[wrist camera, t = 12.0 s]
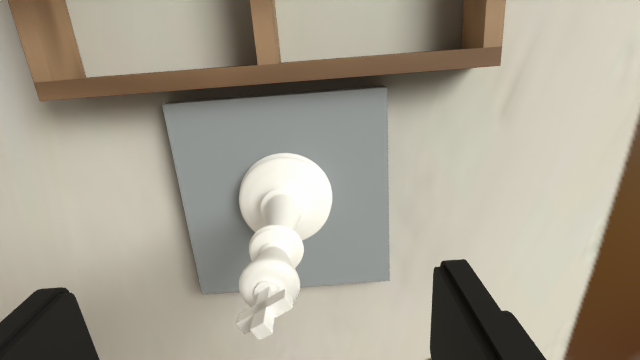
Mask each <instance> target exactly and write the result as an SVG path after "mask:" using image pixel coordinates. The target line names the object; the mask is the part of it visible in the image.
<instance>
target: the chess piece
mask: <svg viewBox="0 0 640 360" xmlns="http://www.w3.org/2000/svg"><path fill="white" fill-rule="evenodd" d="M239 206H240V210H241V213H242V216H243V218H244V220H245V221H246V223H247V224H248V226H249V227H250V228H251V229H252V230H253V231H254V232H255V234H254V235H253V236H252V238H251V240H250V243H249V254H250V258H251V260H252V262H251V263H249V264H248V265H247V266H246V268H245V269H244V270H243V272H242V274H241V276H240V279H239V291H240V294H241V296H242V298H243V300H244V301H245V302H246V303H247V304H248V305H249V306H250V307H251V308H249V309H247V310H245V311H243V312H241V313H240V314H239V315H238V318H237V322H236V325H237V326H238V327H239V328H240V329H241V330H242V332H243V333H244V334H246V333H248V332H249V331H252V333H253V334H254V335H255V336H256V337H257V339H258V340H261V339H263V338H265V337H267V336H269V335H271V334H272V332H273V325H274V318H276V317H277V316H279V315H281V314H283V313H285V312H287V311H289V310H291V309H292V308H293V303H294V302H295V300H296V299H297V297H298V295H299V292H300V279H299V276H298V273H297V271H296V269H295V268H296V267H297V266H298V264H299V263H300V261H301V260H302V257H303V254H304V246H303V242H302V240H305V239H307V238H309V237H311V236H312V235H314V234H315V233H316V232H318V231H319V230H320V229H321V228H322V226H323V225H324V224H325V222H326V220H327V218H328V216H329V213H330V210H331V206H332V189H331V185H330V182H329V180H328V178H327V176H326V174H325V173H324V172H323V170H322V169H321V168H320V167H319V166H318V165H317V164H316V163H314V162H313V161H311V160H310V159H308V158H306V157H303V156H301V155H297V154H292V153H278V154H273V155H269V156H267V157H264V158H262V159H261V160H259V161H257V162H256V163H255V164H254V165H252V166H251V168H250V169H249V170H248V171H247V173H246V174H245V176H244V178H243V180H242V183H241V186H240V193H239Z"/></svg>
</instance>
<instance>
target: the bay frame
mask: <svg viewBox="0 0 640 360" xmlns="http://www.w3.org/2000/svg"><path fill="white" fill-rule="evenodd" d="M8 3H9V6H10V9H11V12H12V15H13V18H14V21H15V25H16V28H17V31H18V34H19V37H20V40H21V43H22V47H23V50H24V53H25V56H26V59H27V62H28V66H29V69H30V72H31V75H32V78H33V81H34V84H35V88H36V91H37V94H38V97H39V100H40V101H47V100H60V99H73V98H86V97H99V96H112V95H125V94H138V93H151V92H164V91H177V90H190V89H203V88H216V87H229V86H242V85H256V84H269V83H282V82H295V81H308V80H321V79H334V78H347V77H360V76H373V75H386V74H399V73H412V72H425V71H438V70H451V69H464V68H477V67H490V66H500V63H501V51H502V39H503V27H504V15H505V4H506V0H464V1H463V22H462V42H461V49H452V50H439V51H426V52H414V53H401V54H388V55H375V56H362V57H349V58H336V59H323V60H310V61H297V62H284V63H281V59H280V49H279V39H278V30H277V20H276V10H275V0H250V6H251V14H252V23H253V31H254V39H255V47H256V55H257V63H258V65H245V66H232V67H219V68H206V69H193V70H180V71H167V72H154V73H141V74H129V75H116V76H103V77H90V78H86V76H85V72H84V69H83V65H82V61H81V58H80V54H79V50H78V47H77V43H76V39H75V36H74V32H73V28H72V25H71V21H70V17H69V13H68V10H67V6H66V2H65V0H8Z"/></svg>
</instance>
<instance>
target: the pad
mask: <svg viewBox="0 0 640 360" xmlns="http://www.w3.org/2000/svg"><path fill="white" fill-rule="evenodd" d="M162 107H163V112H164V117H165V122H166V126H167V131H168V136H169V140H170V145H171V150H172V155H173V159H174V164H175V169H176V174H177V178H178V183H179V188H180V192H181V197H182V202H183V207H184V211H185V216H186V221H187V226H188V230H189V235H190V240H191V245H192V249H193V254H194V259H195V263H196V268H197V273H198V278H199V282H200V287H201V292H202V294H215V293H229V292H240V291H239V279H240V276H241V274H242V272H243V270H244V269H245V268H246V266H247V265H248V264H249V263H251V262H252V260H251V258H250V254H249V243H250V240H251V238H252V236H253V235H254V234H255V232H254V231H253V230H252V229H251V228H250V227H249V226H248V224H247V223H246V221H245V220H244V218H243V216H242V213H241V210H240V206H239V193H240V186H241V183H242V180H243V178H244V176H245V174H246V173H247V171H248V170H249V169H250V168H251V166H252V165H254V164H255V163H256V162H257V161H259V160H261V159H262V158H264V157H267V156H269V155H273V154H278V153H292V154H297V155H301V156H303V157H306V158H308V159H310V160H311V161H313V162H314V163H316V164H317V165H318V166H319V167H320V168H321V169H322V170H323V172H324V173H325V174H326V176H327V178H328V180H329V182H330V185H331V189H332V206H331V210H330V213H329V216H328V218H327V220H326V222H325V224H324V225H323V226H322V228H321V229H320V230H319V231H318V232H316V233H315V234H314V235H312V236H311V237H309V238H307V239H305V240H302V242H303V246H304V254H303V257H302V260H301V261H300V263H299V264H298V266H297V267H296V268H295V269H296V271H297V273H298V276H299V279H300V287H311V286H325V285H338V284H352V283H366V282H379V281H390V271H389V192H388V114H387V87H385V86H374V87H361V88H348V89H335V90H322V91H309V92H296V93H283V94H270V95H257V96H244V97H231V98H217V99H204V100H191V101H178V102H169V103H165V104H162Z"/></svg>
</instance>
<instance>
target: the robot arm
mask: <svg viewBox="0 0 640 360" xmlns="http://www.w3.org/2000/svg"><path fill="white" fill-rule="evenodd" d="M430 353H431V358H432V360H546V359H545V357H544V356H543V355H542V353H541V352H540V350H539V349H538V348H537V346H536V345H535V344H534V342H533V341H532V339H531V338H530V337H529V335H528V334H527V333H526V331H525V330H524V328H523V327H522V326H521V324H520V323H519V322H518V320H517V319H516V318H515V316H514V315H513V314H512V313H510V312H509V311H501V310H500V308H499V307H498V305H497V304H496V302H495V301H494V299H493V298H492V297H491V295H490V294H489V292H488V291H487V289H486V288H485V286H484V285H483V284H482V282H481V281H480V279H479V278H478V276H477V275H476V273H475V272H474V271H473V269H472V268H471V266H470V265H469V263H468V262H467V261H466V260H464V259H463V260H448V261H442V262H441V265H440V267H435V268H434V273H433V294H432V316H431V337H430ZM0 360H99V357H98V355H97V352H96V350H95V347H94V344H93V342H92V339H91V336H90V334H89V331H88V329H87V326H86V323H85V321H84V318H83V316H82V313H81V310H80V308H79V305H78V303H77V300H76V297H75V296H74V294H72V293H70V292H69V291H68V290H67V289H66V288H48V289H39V290H37V291H35V292H34V293H33V294H32V295H30V296H29V297H28V298H27V299H26V300H25V301H24V302H23V303H22V304H20V305H19V306H18V307H17V308H16V309H15V310H14V311H13V312H12V313H10V314H9V315H8V316H7V317H6V318H5V319H4V320H3V321H1V322H0Z"/></svg>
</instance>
